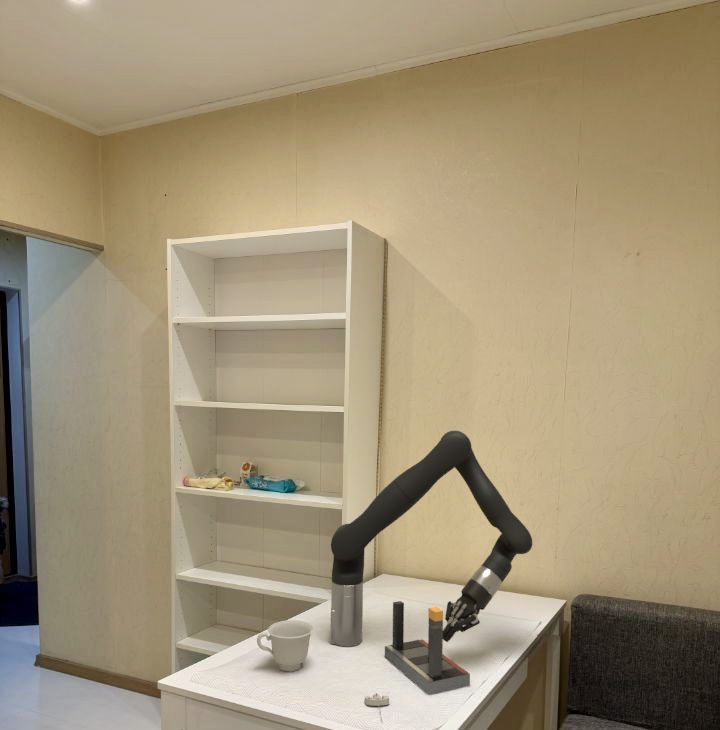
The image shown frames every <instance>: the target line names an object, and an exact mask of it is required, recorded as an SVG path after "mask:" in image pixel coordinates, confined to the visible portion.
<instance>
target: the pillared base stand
mask: <svg viewBox="0 0 720 730" xmlns="http://www.w3.org/2000/svg"><path fill="white" fill-rule="evenodd" d="M404 615H405V603H404V602H403V601H401V600H400V601H393V602H392V644H389V645H385V646H384V658H385V659H386V660H387V661H388V662H390V663H391V665H393V666H394V667H395V668H396V669H398V670H399V671H400V672H401V673H402V674H403V675H405V676H406V677H407V678H408V679H409V680H410V681H412V682H413V683H414V684H415V685H416V686H417V687H418V688H419V689H421V690H422V691H423V692H424V693H425V694H427V695H428V696H431V695H436V694H440V693H445V692H449V691H453V690H457V689H463V688H465V687H467V688H468V687H470V686H471V673H470V672H468V671H467V670H466V669H464V668H463V667H461V665H459V664H457V663H456V662H454V661H453V660H452V659H450V658H449V657H447V656H446V655H445V654H443V653H442V658H441V639H442V628H441V627H440V626H438V625H436V626H430V627H429V626H428V629H429V654H428V641H426V640H424V639H415V640H411V641H410V640H409V641H405V642H404V635H405V634H404V633H405V632H404V628H405V626H404V625H405V624H404V620H405V619H404V618H405V616H404Z"/></svg>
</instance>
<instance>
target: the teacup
mask: <svg viewBox="0 0 720 730" xmlns="http://www.w3.org/2000/svg"><path fill="white" fill-rule="evenodd" d="M313 631H314V627H313V626H312V625H311V624H310V623H309V622H307V621H303V620H295V619H290V620H289V619H287V620H282V621H281V620H280V621H277V622H274V623H273V624H271V625H269V627H268V628H267V632H266V631H261V632H260V633H259V634H258V635H257V638H256V642H257V647H259V648H260V649H261V650H262V651H265V652H269V653H270V654H271V655H272V657H273V659H274V661H275V662H276V663H277V664H278V665H279V666H278V668H279V669H280V670H281V671H284V672H295V671H298V670H300V669H301V667H302V666H301V665H302V664H301V663H303V662H305V660H306V659H307V658H308V657H307V656H308V653H309V647H310V639H311V634H312V633H313ZM268 633H269V634H268ZM264 637H265V639H266V640H267V642H270V641H271V648H270V647H267V646H265V645H263V644H262V642H261V639H263V638H264Z"/></svg>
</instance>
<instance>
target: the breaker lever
mask: <svg viewBox="0 0 720 730" xmlns="http://www.w3.org/2000/svg"><path fill="white" fill-rule="evenodd" d="M427 612H428V614H427V615H428V632H427V634H428V637H427V638H428V639H427V640H428V641H427V643H428V654H429V627H430V626H436V625H438V626H440V627H441V628H442V639H441V658H442V654H443V647H444V645H443V642H444V640H443V630H444V629H443V628H444V627H443V626H444V624H443V623H444V610H442V609H440V608H439V607H437V606H433V607H428V610H427Z"/></svg>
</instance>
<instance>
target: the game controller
mask: <svg viewBox="0 0 720 730" xmlns="http://www.w3.org/2000/svg"><path fill="white" fill-rule="evenodd" d="M389 699H390V697H389V696H388V695H382V697H381V696H380V694H378V693H377V692H376V693H374V694H373V695H372V697H371V696H368V695H367V696H366V695H365V696H364V704H365V705H367V706H374V707H375V706H378V708H379V710H381V707H380V706H387V705H389V703H390V700H389ZM379 716H381V717H380V720H381V721H383V718H382V715H381V711H379Z"/></svg>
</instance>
